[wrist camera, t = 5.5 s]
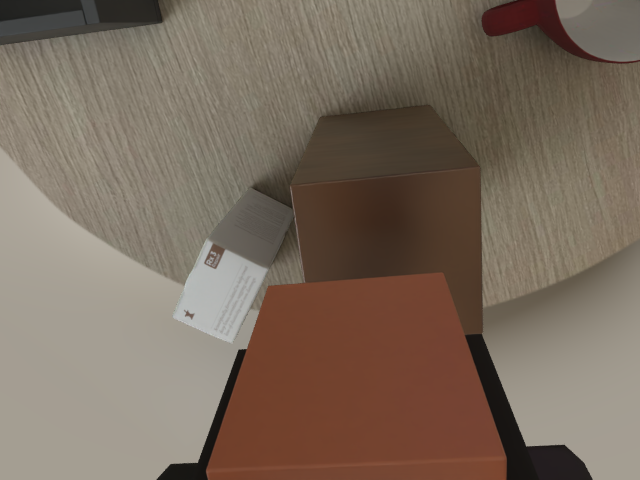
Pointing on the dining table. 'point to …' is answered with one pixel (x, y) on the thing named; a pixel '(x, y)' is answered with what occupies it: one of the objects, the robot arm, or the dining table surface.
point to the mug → (575, 25)
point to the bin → (71, 17)
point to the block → (358, 388)
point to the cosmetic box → (233, 265)
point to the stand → (391, 204)
